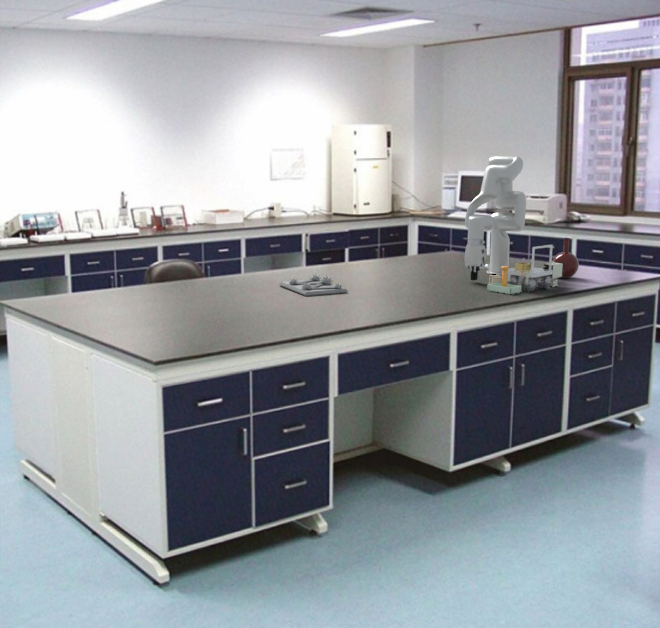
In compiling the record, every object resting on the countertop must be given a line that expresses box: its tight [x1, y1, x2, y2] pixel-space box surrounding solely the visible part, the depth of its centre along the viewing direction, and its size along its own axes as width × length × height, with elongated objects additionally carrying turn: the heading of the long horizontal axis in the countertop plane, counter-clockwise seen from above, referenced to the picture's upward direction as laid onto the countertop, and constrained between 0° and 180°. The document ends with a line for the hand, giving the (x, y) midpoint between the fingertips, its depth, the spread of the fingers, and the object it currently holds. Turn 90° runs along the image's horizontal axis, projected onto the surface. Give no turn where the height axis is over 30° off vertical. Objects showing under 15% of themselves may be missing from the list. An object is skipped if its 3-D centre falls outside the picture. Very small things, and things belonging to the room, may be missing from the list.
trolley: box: [507, 244, 554, 293], centre depth 411 cm, size 17×16×21 cm
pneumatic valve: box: [542, 261, 564, 288], centre depth 418 cm, size 6×12×12 cm, turn 131°
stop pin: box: [501, 266, 510, 287], centre depth 403 cm, size 3×3×11 cm
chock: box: [488, 274, 502, 284], centre depth 420 cm, size 8×5×4 cm, turn 1°
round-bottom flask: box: [552, 237, 580, 279], centre depth 441 cm, size 13×13×20 cm
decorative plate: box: [278, 272, 349, 297], centre depth 405 cm, size 30×22×7 cm
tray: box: [486, 282, 523, 295], centre depth 404 cm, size 13×8×3 cm, turn 42°
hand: (473, 279), depth 428 cm, fingers closed
